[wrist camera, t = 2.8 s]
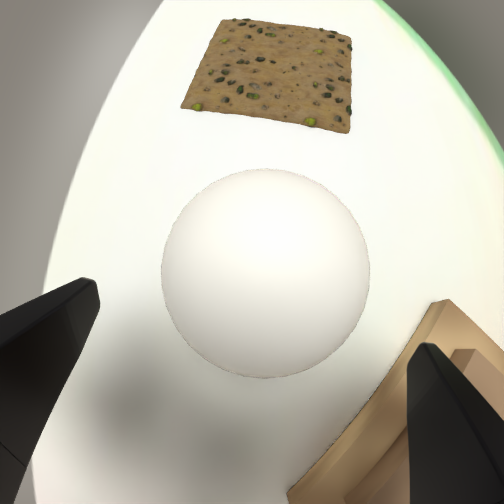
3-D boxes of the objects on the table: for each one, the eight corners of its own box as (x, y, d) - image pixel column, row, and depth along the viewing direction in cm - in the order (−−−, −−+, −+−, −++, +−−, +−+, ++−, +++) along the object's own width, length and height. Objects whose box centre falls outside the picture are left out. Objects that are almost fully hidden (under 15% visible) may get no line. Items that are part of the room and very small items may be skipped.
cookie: (220, 22, 24) (219, 14, 23) (351, 40, 23) (353, 33, 23) (178, 113, 21) (175, 104, 20) (349, 139, 20) (353, 131, 19)
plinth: (428, 554, 12) (450, 578, 8) (286, 492, 14) (294, 527, 11) (536, 403, 15) (570, 407, 11) (431, 303, 17) (469, 293, 13)
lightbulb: (202, 357, 17) (121, 385, 6) (206, 246, 18) (148, 128, 8) (317, 357, 16) (411, 385, 6) (315, 247, 18) (387, 133, 7)
